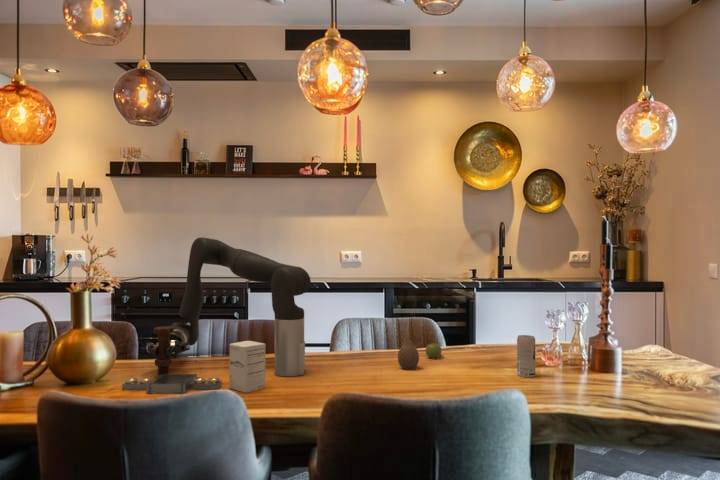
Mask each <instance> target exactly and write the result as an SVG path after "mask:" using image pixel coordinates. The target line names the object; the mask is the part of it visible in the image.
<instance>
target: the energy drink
mask: <svg viewBox="0 0 720 480" xmlns="http://www.w3.org/2000/svg"><path fill="white" fill-rule="evenodd" d="M516 369H517V370H516V372H517V373H516V374H517V376H519V377H521V378H530V379H531V378H534V377H535V376H536V337H535V336H534V335H530V334H529V335H528V334H521V335H517V338H516Z"/></svg>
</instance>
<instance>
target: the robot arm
mask: <svg viewBox="0 0 720 480" xmlns="http://www.w3.org/2000/svg"><path fill="white" fill-rule="evenodd" d="M204 264H205V265H212V266H213V265H214V266H215V265H216V266H220V267H221V266H222V267H226V268H228V269H229V270H230V272H232V273H233V274H234V275H235V276H237V277H238V278H242V279H244V280H247V281H251V282H257V283H264V284H271V286H270V287H271V291H270V292H271V307H272V311H273V314H274V375H276V376H279V377H297V376H304V375H305V372H306V342H305V309H304V308H303V307H300V306H298V305H297V304H296V302H295V296H297V297H298V296H302V295H304V294H305V293H307V291H308V290H309V289H310V287H311V284H312V283H311V282H312V281H311V276H310V275H309V273H308V272H307V270H305V269H304V268H303V267H300V266H295V265H289V264H285V263H281V262H278V261H276V260H274V259H271V258H268V257H266V256H264V255H260V254H258V253H255V252H253V251H252V252H251V251H249V250H245V249H241V248H235V247H232V246H231V245H229V244H227V243H225V242H223V241H221V240H219V239H215V238H210V237H198V238H196V239H195V240H194V241H193V242H192V244H191V247H190V251H189V258H188V266H187V272H186V273H187V274H186V283H185V290H184V292H183V293H184V294H183V298H182V300H181V305H180V308H179V310H178V311H179V313H178V314H179V316H180V318H182V319H184V320H186V321H187V322H188V323H189V324H186V323H182V322H176V321H175V322H173V323H172V324H171V325H170V326H171V327H173V328H174V332H172V333H169V347H168V348H167V356H169V357H171V356H172V357H174V356H175V355H177V354H178V355H179V354H181V353H184V352H187V351H190V350H191V346H193V345H195V344H196V343H197V342H198V339H199V334H200V333H199V332H200V331H199V330H200V329H199V322H200V320H199V319H200V315H201V310H202V306H203V304H204V299H205V298H204V297H205V296H204V295H205V294H204V289H203V285H202V280H201V273H202V268H203V265H204ZM146 352H147V353H148V354H149V355H152V356H153V357H158V341H157V342H156V343H155V344H154V343H153V342H147V343H146Z"/></svg>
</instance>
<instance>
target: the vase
mask: <svg viewBox="0 0 720 480" xmlns="http://www.w3.org/2000/svg"><path fill="white" fill-rule="evenodd" d="M419 361H420V355H419V351H418V349H417V347H416V346H415V345H414V343H413V341H412V340H404V342H403V343H402V345H401V347H400V348H399V350H398V353H397V362H398V364H399V366H400V367H401V368H402V370H408V369H410V370H415V368H417V366H418V365H419Z"/></svg>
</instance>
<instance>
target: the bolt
mask: <svg viewBox="0 0 720 480" xmlns="http://www.w3.org/2000/svg"><path fill="white" fill-rule="evenodd" d="M152 332H153V334H157V342H158V355H157V358H156V359H155V360H154V365H155V366H156V367H157V377H158V376H159V375H161V374H170V369H169V368H170V366H171V365H172V364H173V359H172V358H171V357H170V356H167V348H168V347H169V333H172V332H174V328H173V327H171V325H170V326H167V325H165V326H164V325H163V326H156V327H154V328H153V330H152Z"/></svg>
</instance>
